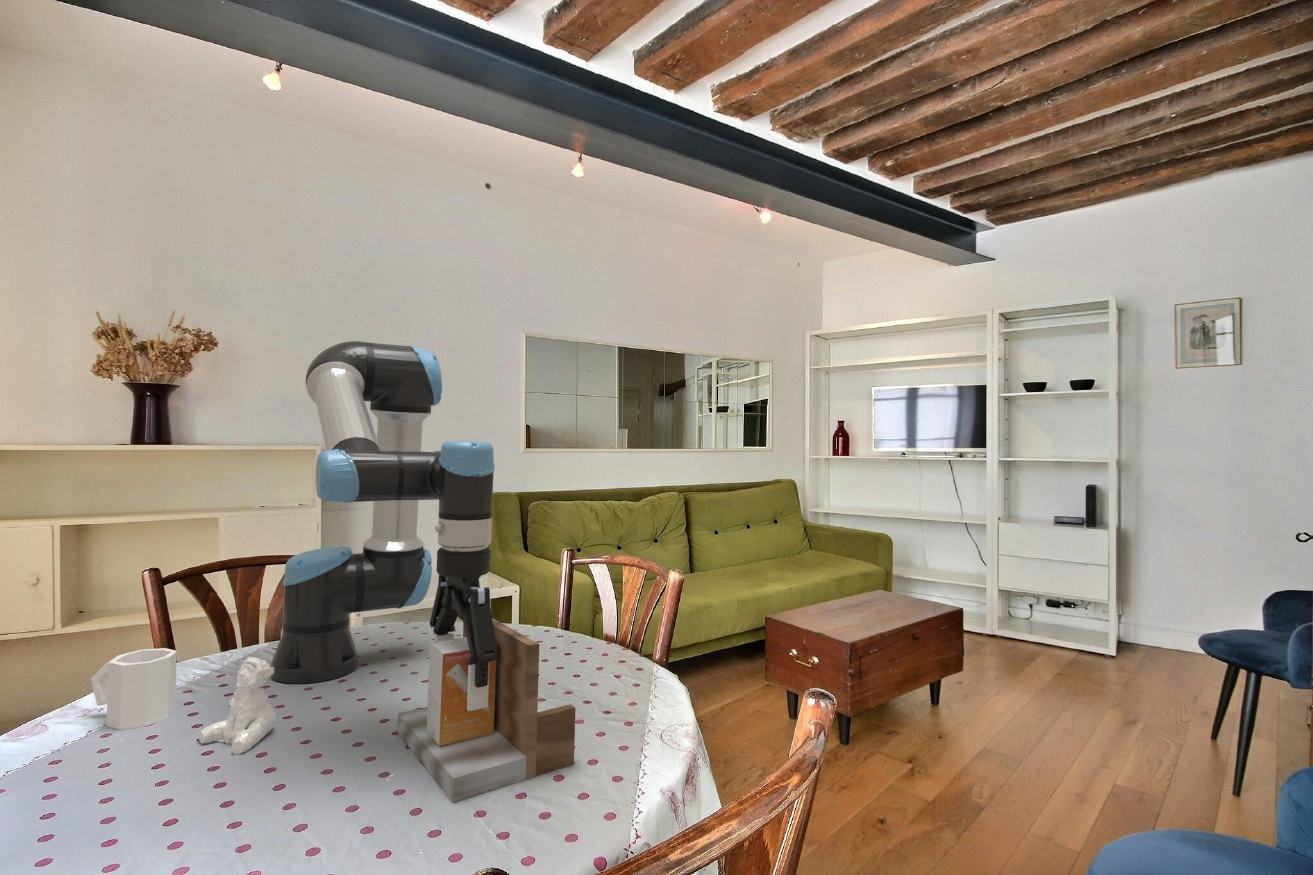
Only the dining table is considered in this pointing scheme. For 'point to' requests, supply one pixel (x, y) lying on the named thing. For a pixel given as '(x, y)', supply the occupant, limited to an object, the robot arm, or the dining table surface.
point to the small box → (455, 695)
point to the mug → (137, 688)
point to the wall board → (499, 729)
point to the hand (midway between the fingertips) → (459, 692)
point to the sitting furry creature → (245, 710)
